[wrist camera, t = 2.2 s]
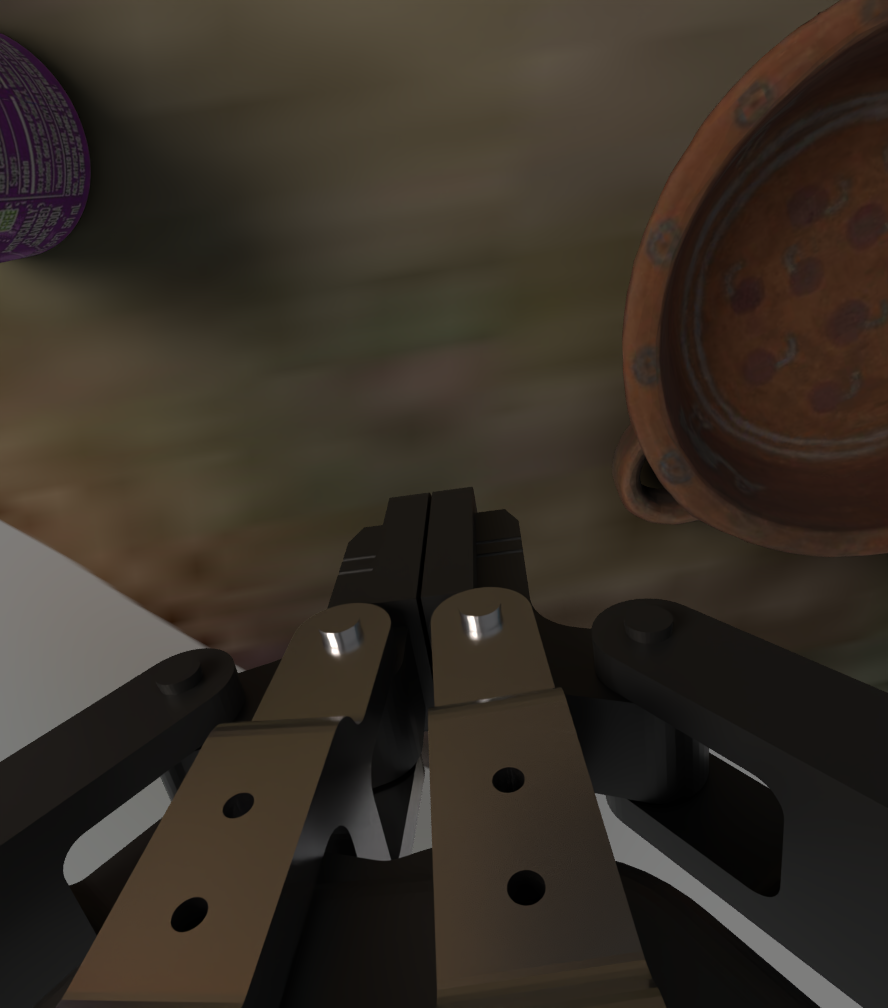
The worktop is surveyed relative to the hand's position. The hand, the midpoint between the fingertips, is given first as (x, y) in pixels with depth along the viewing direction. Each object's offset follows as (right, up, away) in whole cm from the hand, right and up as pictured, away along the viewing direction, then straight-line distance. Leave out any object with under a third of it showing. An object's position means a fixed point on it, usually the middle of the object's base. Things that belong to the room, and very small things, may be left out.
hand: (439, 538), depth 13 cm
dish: (+15, +9, +13) cm, 22 cm away
